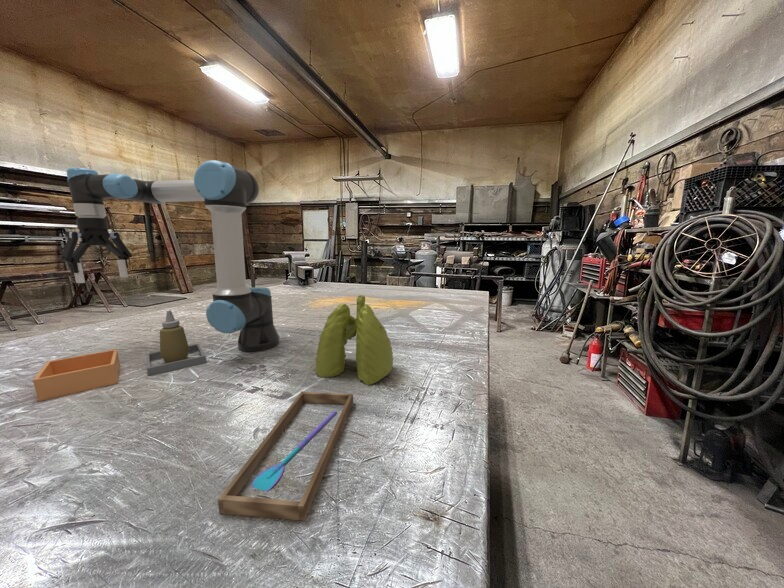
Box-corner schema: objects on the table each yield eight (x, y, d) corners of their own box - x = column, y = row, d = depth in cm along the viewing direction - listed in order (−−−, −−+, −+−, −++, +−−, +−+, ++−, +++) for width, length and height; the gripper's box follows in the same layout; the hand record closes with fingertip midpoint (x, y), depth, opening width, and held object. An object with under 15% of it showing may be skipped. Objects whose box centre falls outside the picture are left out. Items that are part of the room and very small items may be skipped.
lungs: (400, 366, 99) (399, 294, 94) (381, 389, 84) (380, 304, 80) (333, 356, 107) (330, 290, 103) (306, 375, 93) (301, 298, 88)
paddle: (265, 497, 50) (265, 491, 50) (246, 491, 51) (245, 485, 51) (339, 414, 73) (339, 410, 73) (325, 411, 74) (325, 407, 74)
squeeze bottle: (196, 357, 108) (189, 308, 104) (178, 367, 100) (170, 314, 96) (175, 356, 108) (167, 307, 105) (155, 366, 100) (147, 313, 97)
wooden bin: (120, 366, 101) (117, 349, 100) (117, 383, 89) (113, 364, 88) (51, 380, 91) (47, 361, 90) (38, 401, 79) (32, 380, 78)
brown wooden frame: (353, 403, 77) (353, 394, 77) (304, 520, 45) (303, 506, 45) (302, 400, 78) (301, 391, 78) (219, 513, 47) (217, 499, 46)
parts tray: (199, 349, 115) (198, 343, 114) (206, 362, 103) (205, 355, 102) (147, 360, 105) (146, 353, 105) (148, 376, 93) (146, 368, 93)
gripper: (121, 219, 115) (131, 275, 119) (33, 215, 91) (49, 285, 95) (137, 219, 113) (147, 275, 117) (52, 214, 89) (68, 285, 93)
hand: (103, 280), depth 106 cm, fingers open, 13 cm apart
